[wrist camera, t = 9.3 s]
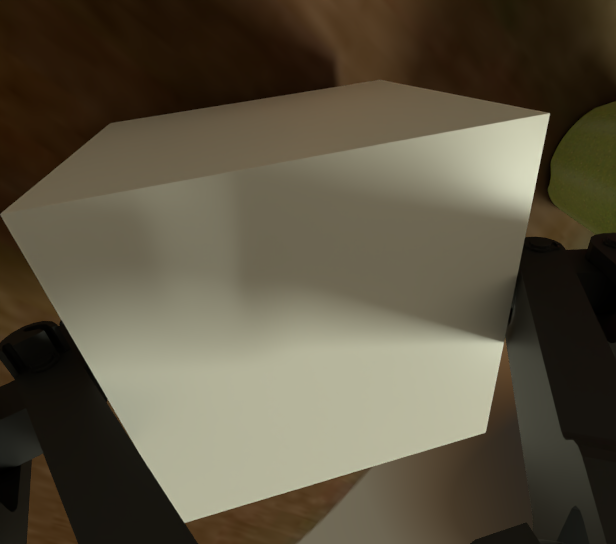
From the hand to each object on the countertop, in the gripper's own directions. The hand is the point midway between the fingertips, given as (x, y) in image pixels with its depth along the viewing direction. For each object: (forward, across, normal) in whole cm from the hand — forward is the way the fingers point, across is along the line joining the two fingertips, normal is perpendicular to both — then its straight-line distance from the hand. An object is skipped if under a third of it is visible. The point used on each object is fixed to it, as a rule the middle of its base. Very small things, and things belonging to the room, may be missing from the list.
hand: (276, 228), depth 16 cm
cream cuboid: (+1, 0, 0) cm, 1 cm away
